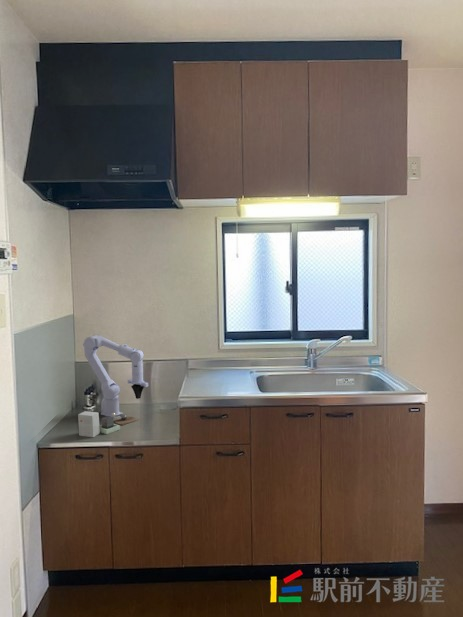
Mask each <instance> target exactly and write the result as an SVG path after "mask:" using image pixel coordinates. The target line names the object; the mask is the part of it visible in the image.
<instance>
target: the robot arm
mask: <svg viewBox="0 0 463 617" xmlns="http://www.w3.org/2000/svg"><path fill="white" fill-rule="evenodd" d="M82 346H83V348H84V357H85V358H86V360H87V362H88V364H89V365H90V367H91V369H92V370H93V372H94V374H95V376H96V377H97V379H98V381H99V382H100V384H101V387H100V389H101V391H102V396H103V398H102V400H101V401H100V405H101V406H100V407H101V413H100V415H101V416H104V417H107V416H110V417H112V413H115V414H116V416H115V417H118V416H120V415H124V413H123V412H121V411H120V397H119V394H120V392H121V387H120V385H119V384H117V383H116V382H115V381H114V380H113V379H112V378H111V377H110V376H109V373H108V372H107V370H106V369H105V367H104V366H103V363H102V362H101V360H100V358H99V357H98V355H97V352H98V349H99V347H105V348H108V349H111V350H113V351H116V352H117V353H118V355H120V356H122V357H123V358H127V359H129V360H130V361H131V378H128V379H127V384H131V386H130V387H131V389H132V390H133V393H134V396H135V399H136V400H138V399H141V397H142V393H143V390H144V388H148V387H149V382H147V381H145V380H144V368H143V367H144V365H143V364H144V363H143V359H144V357H145V354H144V352H143V351H142V350H141V349H140V348H139V349H137V348H135V347H130V346H129V345H128V344H127V343H125V344H121V345H120V344H118V343H116V342H114V341H113V340H110V339H108V338H106V337H104V336H103V335H99V334H94V335H91V336H88V337H86V338H85V339H84V341H83V344H82Z"/></svg>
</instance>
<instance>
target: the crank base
mask: <svg viewBox="0 0 463 617" xmlns="http://www.w3.org/2000/svg"><path fill="white" fill-rule="evenodd" d="M139 420H140V419H139V418H137V417H133V416H129V415H127V418H126V419H118V420H114V424H116V425H120V426H125V425H129V424H131V423H134V422H137V421H139Z"/></svg>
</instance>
